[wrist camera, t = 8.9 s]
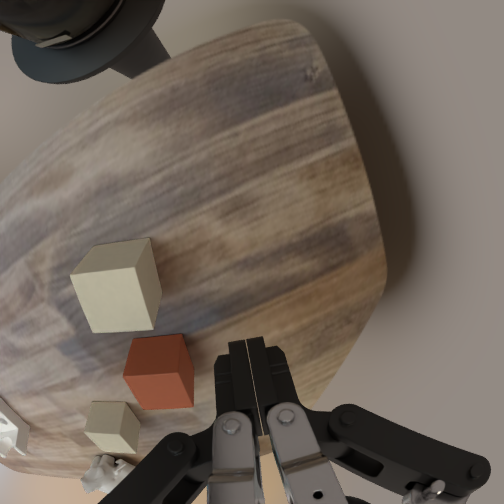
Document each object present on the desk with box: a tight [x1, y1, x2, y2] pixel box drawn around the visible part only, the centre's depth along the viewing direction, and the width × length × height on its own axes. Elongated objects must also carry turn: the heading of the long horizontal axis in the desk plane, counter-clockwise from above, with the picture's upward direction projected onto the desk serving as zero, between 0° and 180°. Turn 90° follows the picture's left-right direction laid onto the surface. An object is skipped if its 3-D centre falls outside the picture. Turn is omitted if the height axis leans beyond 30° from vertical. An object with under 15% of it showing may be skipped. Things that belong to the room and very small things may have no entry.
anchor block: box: [123, 334, 194, 410], centre depth 24 cm, size 5×5×5 cm
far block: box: [84, 402, 141, 454], centre depth 28 cm, size 5×5×5 cm
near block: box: [70, 238, 162, 333], centre depth 20 cm, size 5×5×5 cm
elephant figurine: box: [80, 454, 136, 494], centre depth 32 cm, size 10×12×9 cm
